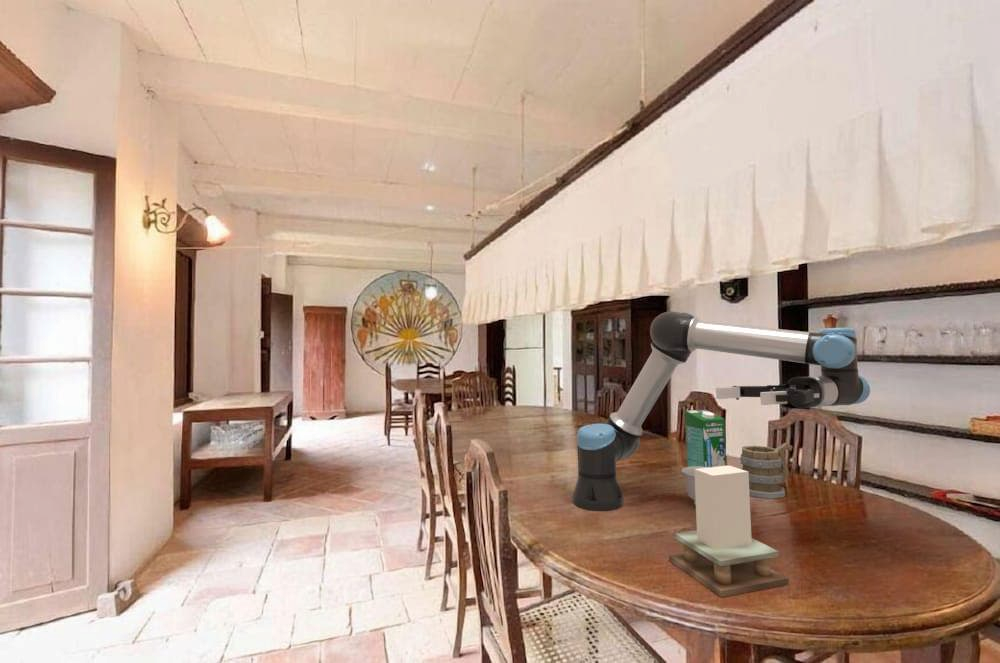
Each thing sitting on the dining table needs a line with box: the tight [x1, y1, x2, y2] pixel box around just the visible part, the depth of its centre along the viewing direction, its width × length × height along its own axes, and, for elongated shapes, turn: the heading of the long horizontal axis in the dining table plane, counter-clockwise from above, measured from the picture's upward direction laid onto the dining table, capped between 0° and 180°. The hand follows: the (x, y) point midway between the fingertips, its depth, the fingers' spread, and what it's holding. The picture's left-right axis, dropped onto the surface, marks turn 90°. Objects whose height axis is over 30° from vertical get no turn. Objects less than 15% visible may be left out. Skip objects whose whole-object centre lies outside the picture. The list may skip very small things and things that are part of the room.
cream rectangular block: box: [694, 464, 752, 550], centre depth 97 cm, size 6×9×15 cm, turn 105°
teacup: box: [680, 466, 709, 506], centre depth 137 cm, size 12×15×10 cm
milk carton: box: [684, 409, 728, 467], centre depth 159 cm, size 9×9×25 cm
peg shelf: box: [668, 529, 790, 598], centre depth 96 cm, size 16×16×6 cm
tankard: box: [739, 442, 793, 500], centre depth 149 cm, size 20×13×15 cm, turn 105°
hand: (738, 395), depth 106 cm, fingers open, 13 cm apart
